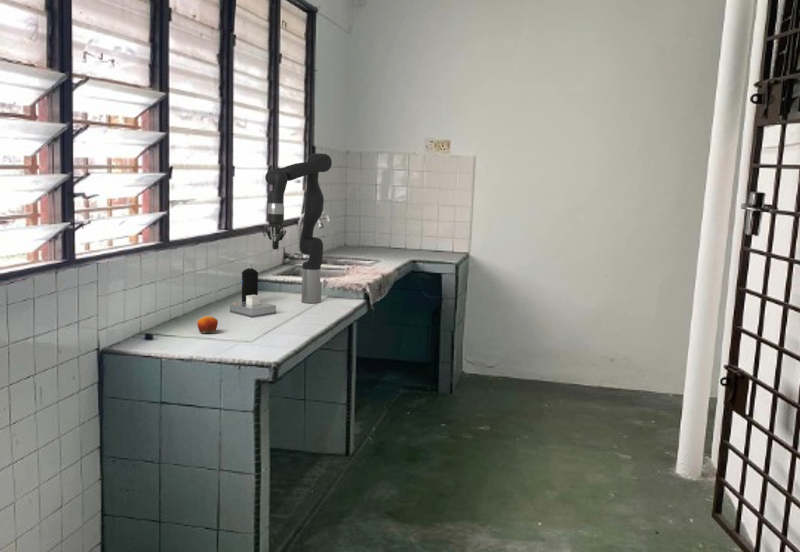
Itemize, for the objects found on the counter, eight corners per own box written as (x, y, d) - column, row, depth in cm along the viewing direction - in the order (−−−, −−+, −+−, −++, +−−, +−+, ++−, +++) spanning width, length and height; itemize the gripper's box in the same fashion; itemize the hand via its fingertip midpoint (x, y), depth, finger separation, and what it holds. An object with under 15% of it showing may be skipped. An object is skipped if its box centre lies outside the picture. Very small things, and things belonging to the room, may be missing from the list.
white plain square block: (253, 309, 339) (253, 294, 338) (259, 310, 336) (259, 295, 335) (245, 310, 335) (246, 295, 334) (252, 312, 332) (252, 297, 331)
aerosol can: (261, 304, 357) (262, 264, 354) (249, 306, 350) (250, 265, 347) (249, 302, 361) (249, 262, 358) (237, 304, 354) (237, 264, 351)
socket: (253, 308, 346) (253, 299, 345) (275, 313, 336) (276, 304, 335) (229, 312, 335) (229, 302, 334) (252, 317, 325) (252, 307, 325)
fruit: (200, 333, 287) (198, 314, 289) (197, 339, 293) (195, 320, 296) (221, 331, 290) (218, 313, 293) (217, 337, 297) (214, 319, 299)
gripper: (291, 213, 339) (290, 250, 342) (272, 211, 347) (272, 247, 350) (279, 213, 333) (278, 251, 336) (260, 211, 341) (260, 248, 344)
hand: (275, 249), depth 343 cm, fingers closed
